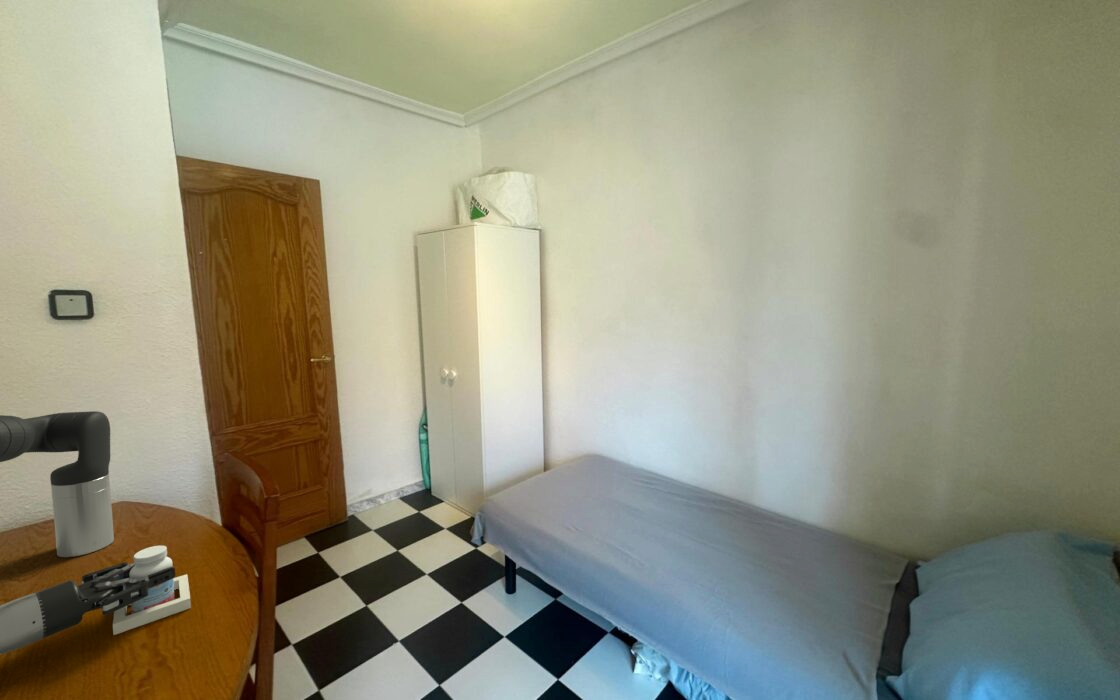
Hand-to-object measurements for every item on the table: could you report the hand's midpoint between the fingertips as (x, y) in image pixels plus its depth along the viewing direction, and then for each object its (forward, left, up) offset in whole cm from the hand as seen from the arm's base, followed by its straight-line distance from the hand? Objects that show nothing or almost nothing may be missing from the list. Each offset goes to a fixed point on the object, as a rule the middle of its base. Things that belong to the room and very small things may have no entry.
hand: (167, 566), depth 84 cm
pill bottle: (+1, -2, -7) cm, 8 cm away
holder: (+1, -2, -7) cm, 7 cm away
